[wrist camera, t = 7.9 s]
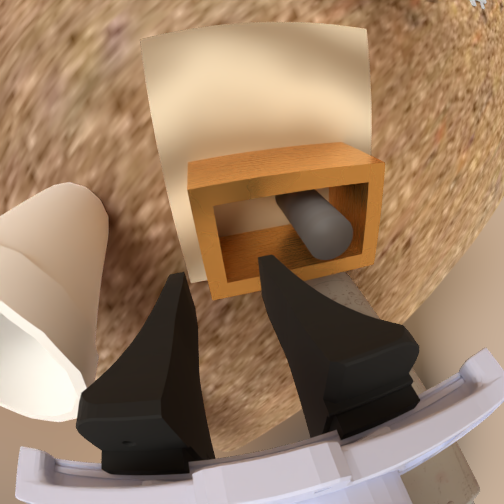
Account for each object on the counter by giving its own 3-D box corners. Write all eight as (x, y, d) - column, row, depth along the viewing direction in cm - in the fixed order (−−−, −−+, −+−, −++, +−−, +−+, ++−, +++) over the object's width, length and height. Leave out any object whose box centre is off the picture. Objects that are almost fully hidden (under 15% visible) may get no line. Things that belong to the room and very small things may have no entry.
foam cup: (17, 160, 15) (-105, 260, 4) (131, 163, 17) (56, 292, 6) (31, 269, 19) (-29, 397, 8) (128, 280, 22) (107, 433, 11)
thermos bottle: (282, 339, 29) (376, 595, 6) (266, 283, 25) (396, 623, 1) (352, 314, 29) (473, 543, 6) (351, 254, 25) (527, 539, 2)
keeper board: (355, 238, 24) (403, 292, 18) (190, 271, 22) (195, 345, 16) (355, 31, 15) (427, 20, 8) (143, 43, 13) (114, 16, 7)
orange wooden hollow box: (206, 252, 20) (212, 300, 16) (187, 162, 17) (187, 190, 12) (339, 227, 21) (373, 264, 17) (341, 142, 18) (384, 162, 14)
